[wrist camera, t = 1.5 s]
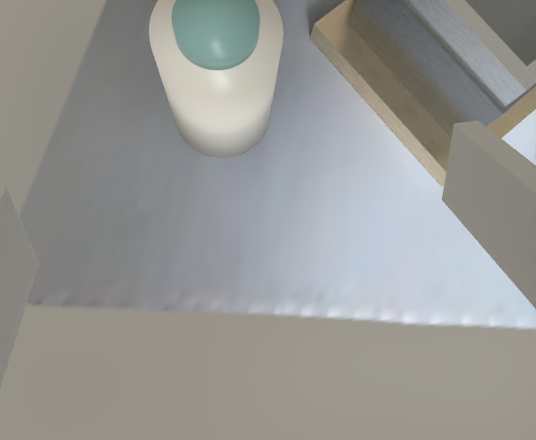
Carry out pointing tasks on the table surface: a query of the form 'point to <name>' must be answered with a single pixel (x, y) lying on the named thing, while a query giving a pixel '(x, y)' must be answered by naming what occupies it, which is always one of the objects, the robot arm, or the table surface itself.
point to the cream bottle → (218, 69)
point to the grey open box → (436, 66)
